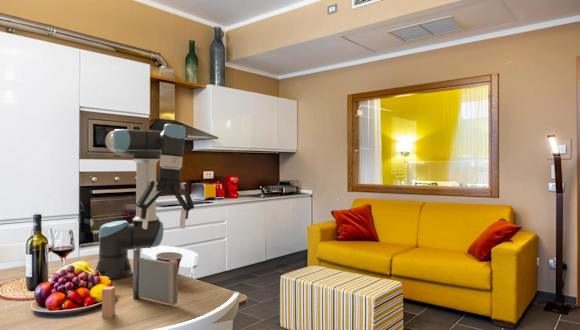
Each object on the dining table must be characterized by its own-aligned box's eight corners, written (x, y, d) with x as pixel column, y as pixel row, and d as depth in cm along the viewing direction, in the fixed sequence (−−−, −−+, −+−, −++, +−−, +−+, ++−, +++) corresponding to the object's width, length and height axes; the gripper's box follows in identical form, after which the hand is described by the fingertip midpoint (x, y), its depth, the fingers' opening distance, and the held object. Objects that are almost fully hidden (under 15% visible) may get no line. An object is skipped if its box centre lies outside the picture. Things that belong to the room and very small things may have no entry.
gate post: (132, 297, 148) (132, 248, 148) (139, 296, 149) (139, 248, 149) (133, 299, 146) (133, 250, 146) (140, 298, 147) (140, 249, 147)
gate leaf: (138, 296, 146) (138, 255, 145) (142, 295, 147) (143, 254, 147) (172, 305, 137) (172, 261, 137) (177, 303, 139) (177, 260, 139)
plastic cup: (175, 288, 159) (175, 258, 159) (150, 286, 161) (150, 256, 161) (187, 280, 170) (187, 252, 170) (164, 278, 172) (164, 250, 172)
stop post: (105, 313, 132) (106, 286, 132) (115, 313, 132) (115, 286, 132) (101, 317, 129) (102, 289, 129) (111, 317, 129) (111, 289, 129)
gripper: (138, 165, 130) (131, 230, 129) (207, 171, 146) (200, 229, 145) (130, 164, 135) (123, 226, 135) (197, 170, 152) (191, 226, 151)
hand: (163, 228), depth 140 cm, fingers open, 13 cm apart
